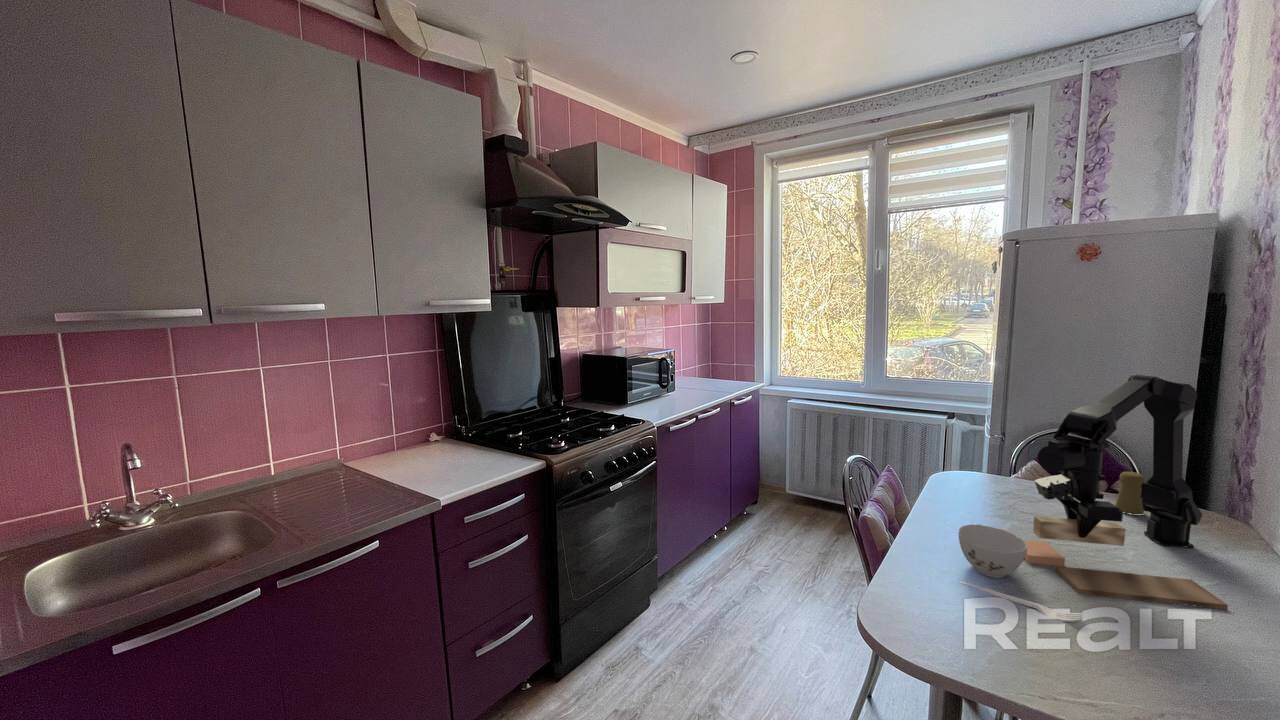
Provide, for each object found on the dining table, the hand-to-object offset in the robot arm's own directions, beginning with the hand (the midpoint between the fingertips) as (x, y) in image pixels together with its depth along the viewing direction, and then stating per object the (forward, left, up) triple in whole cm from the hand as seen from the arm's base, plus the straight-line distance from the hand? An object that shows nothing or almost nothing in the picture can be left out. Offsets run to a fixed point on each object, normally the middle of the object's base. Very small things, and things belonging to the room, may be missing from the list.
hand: (1077, 534), depth 116 cm
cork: (-28, -33, -6) cm, 44 cm away
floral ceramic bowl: (+20, +9, -6) cm, 23 cm away
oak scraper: (0, 0, -1) cm, 1 cm away
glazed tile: (+4, 0, -5) cm, 7 cm away
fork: (+20, +21, -7) cm, 30 cm away
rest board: (-5, +11, -6) cm, 14 cm away
